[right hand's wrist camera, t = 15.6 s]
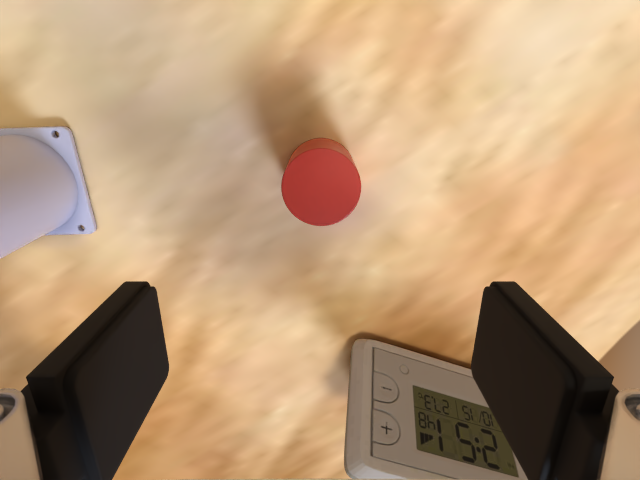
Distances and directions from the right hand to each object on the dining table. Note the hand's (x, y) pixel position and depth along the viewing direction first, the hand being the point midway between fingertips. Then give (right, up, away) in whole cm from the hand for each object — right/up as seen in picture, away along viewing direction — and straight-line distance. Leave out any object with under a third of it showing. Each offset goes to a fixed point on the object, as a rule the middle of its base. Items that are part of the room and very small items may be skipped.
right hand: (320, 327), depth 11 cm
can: (0, +7, +18) cm, 19 cm away
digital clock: (+10, -10, +25) cm, 28 cm away
